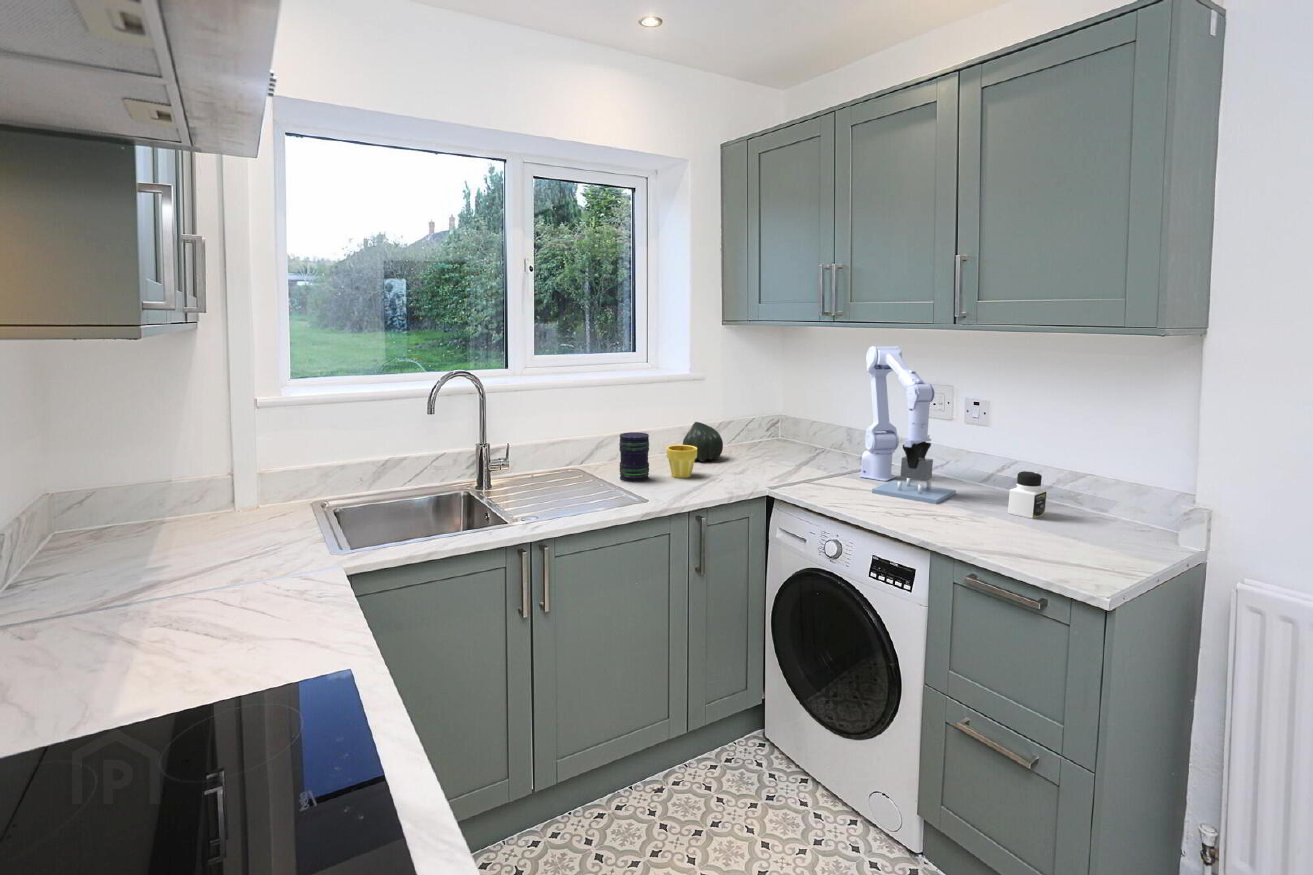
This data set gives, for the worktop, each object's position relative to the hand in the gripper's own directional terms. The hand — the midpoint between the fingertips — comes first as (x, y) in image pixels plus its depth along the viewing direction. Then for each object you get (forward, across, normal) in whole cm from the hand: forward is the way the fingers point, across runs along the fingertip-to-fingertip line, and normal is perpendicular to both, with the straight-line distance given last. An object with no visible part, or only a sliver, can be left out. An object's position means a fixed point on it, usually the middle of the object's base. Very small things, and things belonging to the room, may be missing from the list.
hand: (915, 466), depth 232 cm
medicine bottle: (+9, -2, -33) cm, 34 cm away
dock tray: (+8, 0, 0) cm, 8 cm away
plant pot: (+9, -29, +69) cm, 75 cm away
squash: (+9, -3, +80) cm, 81 cm away
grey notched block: (+3, 0, 0) cm, 3 cm away
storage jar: (+9, -43, +78) cm, 89 cm away
